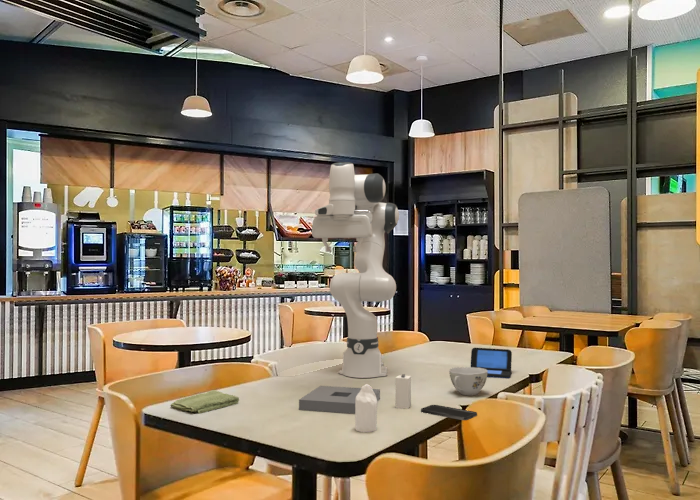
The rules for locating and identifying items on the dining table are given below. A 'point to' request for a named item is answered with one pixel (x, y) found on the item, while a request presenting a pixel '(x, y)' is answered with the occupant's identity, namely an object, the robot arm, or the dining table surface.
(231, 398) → the washcloth
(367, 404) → the white bottle
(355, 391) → the grey socket board
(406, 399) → the charger plug
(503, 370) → the handheld game console
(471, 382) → the teacup
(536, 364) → the dining table surface
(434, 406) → the phone
